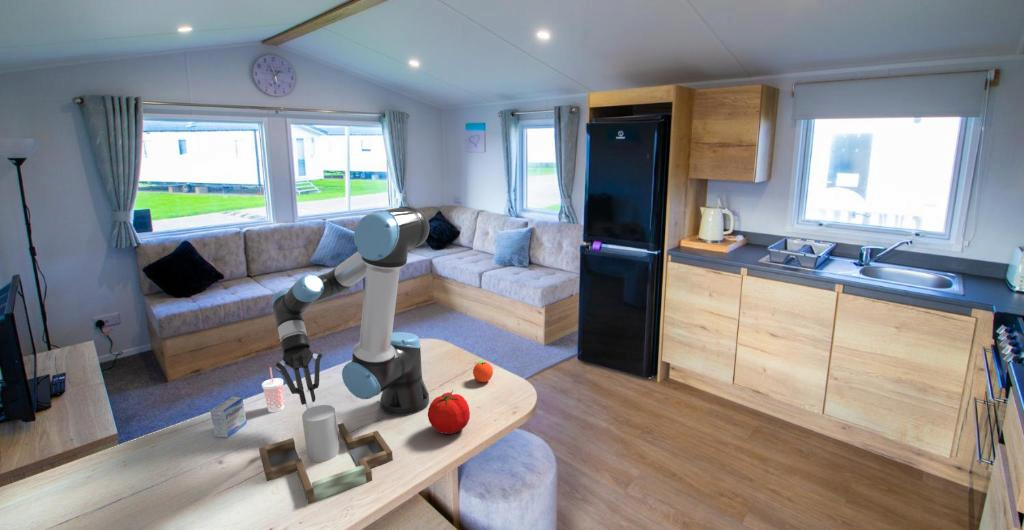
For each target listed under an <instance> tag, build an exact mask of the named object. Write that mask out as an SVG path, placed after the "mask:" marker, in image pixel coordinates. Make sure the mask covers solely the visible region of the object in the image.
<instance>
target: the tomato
mask: <svg viewBox="0 0 1024 530" xmlns="http://www.w3.org/2000/svg"><path fill="white" fill-rule="evenodd" d="M453 392H454V390H452V391H451V392H443V394H442V395H438V396H437V397H435V398H434V399H433V400H432V401H431V403H430V404H429V408H428V410H427V418H428V421H429V423H430V425H431V427H432V428H433V429H434V430H435V431H436V432H438V433H441V434H446V435H451V434H455V433H457V432H459V431H461V430H463V429H464V428H465V427H466V426H467V425H468V423H469V421H470V419H471V418H470V416H471V411H470V406H469V404H468V402H467V399H465V397H463V395H461V394H458V393H455V394H454V393H453Z"/></svg>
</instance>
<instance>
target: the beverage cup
mask: <svg viewBox="0 0 1024 530" xmlns="http://www.w3.org/2000/svg"><path fill="white" fill-rule="evenodd" d="M269 373H270V379H267V380H264V381H262V383H261V387H262V389H263V393H264V397H265V402H266V403H265V404H266V407H267V410H268V412H270V413H278V412H281V411H282V410H283V409H285V401H284V399H285V397H284V378H281V377H275V378H274V376H273V370H272V367H271V366H270V367H269ZM280 410H281V411H280Z"/></svg>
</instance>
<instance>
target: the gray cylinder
mask: <svg viewBox="0 0 1024 530" xmlns="http://www.w3.org/2000/svg"><path fill="white" fill-rule="evenodd" d="M301 417H302V418H301V419H302V420H301V421H302V427H303V434H304V443H305V451H306V459H307V460H308V459H309V460H308V461H309V462H311V461H313V462H312V463H323V462H328V461H330V460H332V459H334V458H336V457H337V455H338V454H339V453H340V443H339V435H338V434H339V432H338V423H337V417H336V409H335V407H334V406H333V405H329V404H321V405H314V406H313V407H312V408H309V409H307V408H306V410H305V411H303V412H302V414H301Z"/></svg>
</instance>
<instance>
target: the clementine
mask: <svg viewBox="0 0 1024 530" xmlns="http://www.w3.org/2000/svg"><path fill="white" fill-rule="evenodd" d="M472 374H473V377H474V380H476V381H477V382H479V383H486V382H488V381H490V380H491V379H492V377H493V374H494V370H493V367H492V364H490V363H489V362H488V361H482V360H479V361H477V362H475V363H474V367H473V368H472Z"/></svg>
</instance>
